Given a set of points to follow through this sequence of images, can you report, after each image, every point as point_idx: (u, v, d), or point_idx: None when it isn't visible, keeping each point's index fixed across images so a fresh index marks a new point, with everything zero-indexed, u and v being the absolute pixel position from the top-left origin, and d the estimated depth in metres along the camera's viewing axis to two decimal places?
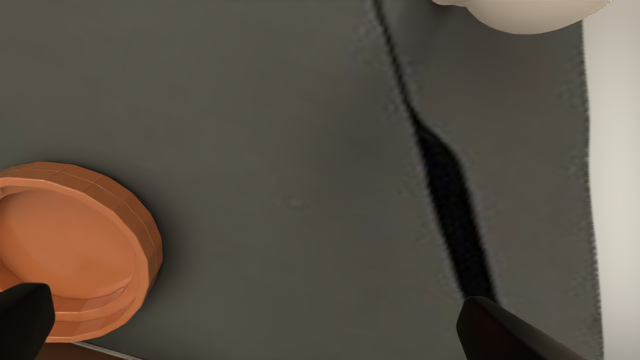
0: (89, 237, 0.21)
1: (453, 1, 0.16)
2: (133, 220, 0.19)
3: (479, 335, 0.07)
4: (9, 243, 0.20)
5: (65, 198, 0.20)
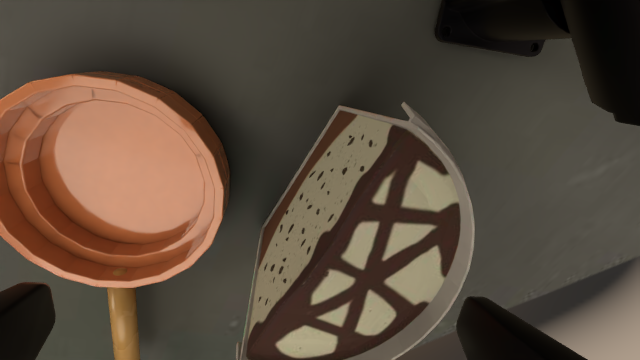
0: (113, 155, 0.18)
1: None
2: None
3: (479, 335, 0.07)
4: (133, 230, 0.20)
5: (62, 168, 0.18)
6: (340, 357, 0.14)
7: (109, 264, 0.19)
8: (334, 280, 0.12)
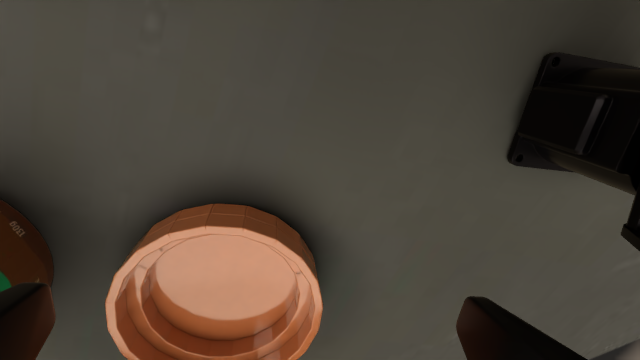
0: (215, 269, 0.20)
1: None
2: (160, 231, 0.16)
3: (479, 335, 0.07)
4: (225, 329, 0.21)
5: (168, 282, 0.19)
6: None
7: None
8: None
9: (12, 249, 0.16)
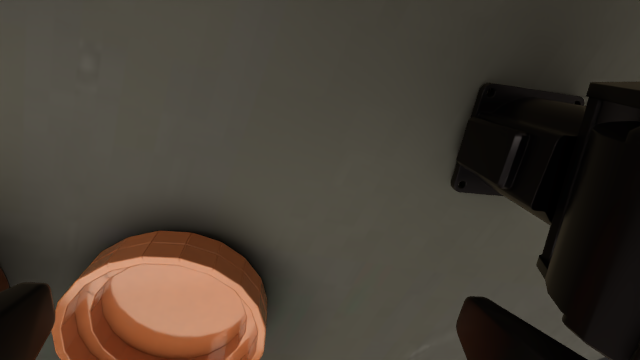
0: (165, 292, 0.20)
1: None
2: (102, 260, 0.17)
3: (479, 335, 0.07)
4: (180, 348, 0.22)
5: (121, 304, 0.20)
6: None
7: None
8: None
9: None
